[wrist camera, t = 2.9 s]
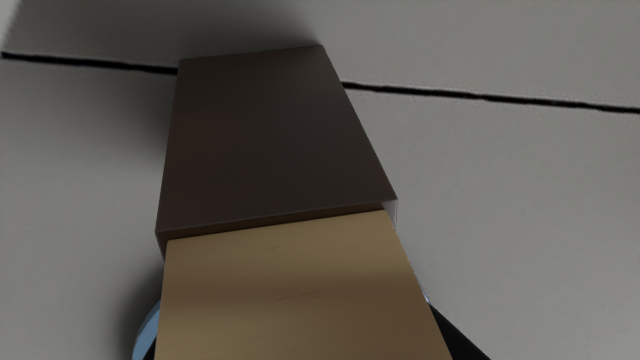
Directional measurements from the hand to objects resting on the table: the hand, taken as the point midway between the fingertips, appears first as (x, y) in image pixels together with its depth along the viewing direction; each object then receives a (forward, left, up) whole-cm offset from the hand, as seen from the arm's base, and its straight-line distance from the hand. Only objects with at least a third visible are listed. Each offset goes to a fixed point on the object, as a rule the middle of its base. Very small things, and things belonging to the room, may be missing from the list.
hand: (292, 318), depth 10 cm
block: (0, 0, 0) cm, 0 cm away
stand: (0, 0, -8) cm, 8 cm away
